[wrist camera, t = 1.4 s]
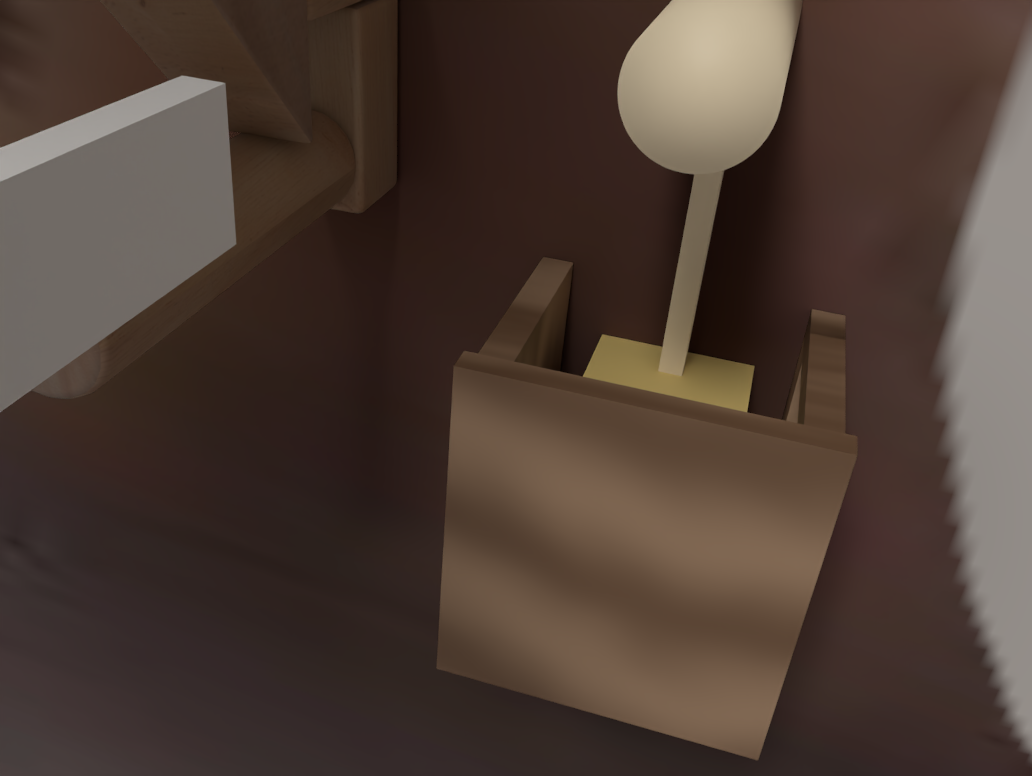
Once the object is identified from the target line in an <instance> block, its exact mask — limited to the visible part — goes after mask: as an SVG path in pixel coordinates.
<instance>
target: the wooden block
mask: <svg viewBox="0 0 1032 776" xmlns="http://www.w3.org/2000/svg"><path fill="white" fill-rule="evenodd" d="M100 1H101V2H102V3H103V5H104V6H105V7H106V8H107V9H108V10H109V12H110V13H111V14H112V15H113V16H114V17H115V18H116V20H117V21H118V22H119V23H120V24H121V25H122V26H123V28H124V29H125V30H126V31H127V32H128V33H129V34H130V36H131V37H132V38H133V39H134V40H135V41H136V42H137V44H138V45H139V46H140V47H141V48H142V49H143V51H144V52H145V53H146V54H147V55H148V56H149V57H150V59H151V60H152V61H153V62H154V63H155V64H156V65H157V67H158V68H159V69H160V70H161V71H162V72H163V73H164V75H165V76H166V77H167V78H168V79H169V80H172V79H175V78H177V77H180V76H188V77H194V78H199V79H205V80H211V81H217V82H222V83H225V85H226V100H227V114H228V129H229V131H234V132H240V134H238V135H237V136H235V137H233V138H231V139H229V144H230V158H231V173H232V188H233V202H234V217H235V232H236V245H234V246H233V247H232V248H230V249H229V250H227V251H226V252H225V253H223V254H222V255H220V256H219V257H218V258H216V259H215V260H213V261H212V262H211V263H209V264H208V265H206V266H205V267H204V268H202V269H201V270H199V271H198V272H197V273H195V274H194V275H192V276H191V277H189V278H188V279H187V280H185V281H184V282H182V283H181V284H180V285H178V286H177V287H175V288H174V289H173V290H171V291H170V292H168V293H167V294H166V295H164V296H163V297H161V298H160V299H159V300H157V301H156V302H154V303H153V304H151V305H150V306H149V307H147V308H146V309H144V310H143V311H142V312H140V313H139V314H137V315H136V316H135V317H133V318H132V319H130V320H129V321H128V322H126V323H125V324H123V325H122V326H121V327H119V328H118V329H116V330H115V331H114V332H112V333H111V334H109V335H108V336H106V337H105V338H104V339H102V340H101V341H99V342H98V343H97V344H95V345H94V346H92V347H91V348H90V349H88V350H87V351H85V352H84V353H83V354H81V355H80V356H78V357H77V358H76V359H74V360H73V361H71V362H70V363H69V364H67V365H66V366H64V367H63V368H61V369H60V370H59V371H57V372H56V373H54V374H53V375H52V376H50V377H49V378H47V379H46V380H45V381H43V382H42V383H40V384H39V385H38V386H36V387H35V388H33V389H32V390H31V391H34V392H36V393H39V394H42V395H44V396H47V397H50V398H62V399H71V398H77V397H81V396H84V395H87V394H91V393H94V392H95V391H96V390H97V389H99V388H100V387H101V386H103V385H104V384H105V383H106V382H108V381H109V380H110V379H112V378H113V377H114V376H115V375H117V374H118V373H119V372H121V371H122V370H123V369H124V368H126V367H127V366H128V365H130V364H131V363H132V362H133V361H135V360H136V359H137V358H139V357H140V356H141V355H142V354H144V353H145V352H146V351H148V350H149V349H150V348H151V347H153V346H154V345H155V344H157V343H158V342H159V341H161V340H162V339H163V338H164V337H166V336H167V335H168V334H170V333H171V332H172V331H173V330H175V329H176V328H177V327H179V326H180V325H181V324H182V323H184V322H185V321H186V320H188V319H189V318H190V317H191V316H193V315H194V314H195V313H197V312H198V311H199V310H200V309H202V308H203V307H204V306H206V305H207V304H208V303H209V302H211V301H212V300H213V299H215V298H216V297H217V296H218V295H220V294H221V293H222V292H224V291H225V290H226V289H228V288H229V287H230V286H231V285H233V284H234V283H235V282H237V281H238V280H239V279H240V278H242V277H243V276H244V275H246V274H247V273H248V272H249V271H251V270H252V269H253V268H255V267H256V266H257V265H258V264H260V263H261V262H262V261H264V260H265V259H266V258H267V257H269V256H270V255H271V254H273V253H274V252H275V251H276V250H278V249H279V248H280V247H282V246H283V245H284V244H285V243H287V242H288V241H289V240H291V239H292V238H293V237H294V236H296V235H297V234H298V233H300V232H301V231H302V230H304V229H305V228H306V227H307V226H309V225H310V224H311V223H313V222H314V221H315V220H316V219H318V218H319V217H320V216H322V215H323V214H324V213H325V212H327V211H328V210H329V209H334V210H340V211H346V212H351V213H362V212H364V211H365V210H367V209H368V208H369V207H370V206H371V205H373V204H374V203H375V202H376V201H377V200H378V199H380V198H381V197H382V196H383V195H384V194H386V193H387V192H388V191H389V190H390V189H392V188H393V187H394V186H395V184H396V182H397V0H100Z"/></svg>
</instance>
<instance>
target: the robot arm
mask: <svg viewBox="0 0 1032 776" xmlns="http://www.w3.org/2000/svg"><path fill="white" fill-rule="evenodd" d="M234 245H236V232H235V217H234V202H233V188H232V173H231V158H230V144H229V129H228V114H227V100H226V85H225V83H222V82H217V81H211V80H205V79H199V78H194V77H188V76H180V77H177V78H175V79H172V80H170V81H167V82H165V83H162V84H160V85H157V86H154V87H152V88H149V89H147V90H144V91H142V92H139V93H137V94H134V95H132V96H129V97H127V98H124V99H122V100H119V101H117V102H114V103H112V104H109V105H107V106H104V107H102V108H99V109H97V110H94V111H92V112H89V113H87V114H84V115H82V116H79V117H77V118H74V119H72V120H69V121H67V122H64V123H62V124H59V125H57V126H54V127H52V128H49V129H47V130H44V131H42V132H39V133H37V134H34V135H32V136H29V137H27V138H24V139H21V140H19V141H16V142H14V143H11V144H9V145H6V146H4V147H1V148H0V412H1V411H2V410H4V409H5V408H7V407H8V406H9V405H11V404H12V403H14V402H15V401H16V400H18V399H19V398H21V397H22V396H23V395H25V394H26V393H28V392H29V391H31V390H32V389H33V388H35V387H36V386H38V385H39V384H40V383H42V382H43V381H45V380H46V379H47V378H49V377H50V376H52V375H53V374H54V373H56V372H57V371H59V370H60V369H61V368H63V367H64V366H66V365H67V364H69V363H70V362H71V361H73V360H74V359H76V358H77V357H78V356H80V355H81V354H83V353H84V352H85V351H87V350H88V349H90V348H91V347H92V346H94V345H95V344H97V343H98V342H99V341H101V340H102V339H104V338H105V337H106V336H108V335H109V334H111V333H112V332H114V331H115V330H116V329H118V328H119V327H121V326H122V325H123V324H125V323H126V322H128V321H129V320H130V319H132V318H133V317H135V316H136V315H137V314H139V313H140V312H142V311H143V310H144V309H146V308H147V307H149V306H150V305H151V304H153V303H154V302H156V301H157V300H159V299H160V298H161V297H163V296H164V295H166V294H167V293H168V292H170V291H171V290H173V289H174V288H175V287H177V286H178V285H180V284H181V283H182V282H184V281H185V280H187V279H188V278H189V277H191V276H192V275H194V274H195V273H197V272H198V271H199V270H201V269H202V268H204V267H205V266H206V265H208V264H209V263H211V262H212V261H213V260H215V259H216V258H218V257H219V256H220V255H222V254H223V253H225V252H226V251H227V250H229V249H230V248H232V247H233V246H234Z"/></svg>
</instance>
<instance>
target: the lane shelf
mask: <svg viewBox="0 0 1032 776" xmlns="http://www.w3.org/2000/svg"><path fill="white" fill-rule="evenodd" d="M572 271H573V262H568V261H562V260H557V259H552V258H547V257H543V258H542V260H541V261H540V262H539V264H538V265H537V267H536V268H535V270H534V271H533V273H532V274H531V276H530V277H529V279H528V280H527V282H526V283H525V285H524V286H523V288H522V289H521V291H520V292H519V294H518V295H517V297H516V298H515V300H514V301H513V303H512V304H511V305H510V307H509V308H508V310H507V311H506V313H505V314H504V316H503V317H502V319H501V320H500V322H499V323H498V325H497V326H496V328H495V329H494V331H493V332H492V334H491V335H490V337H489V338H488V340H487V341H486V343H485V344H484V346H483V347H482V348H481V350H480V351H479V353H478V354H477V353H473V352H468V351H464V352H463V353H462V355H461V356H460V358H459V359H458V361H457V362H456V363H455V365H454V370H453V387H452V405H451V423H450V440H449V458H448V475H447V493H446V510H445V528H444V545H443V563H442V581H441V598H440V616H439V633H438V651H437V668H436V669H440V670H443V671H447V672H450V673H454V674H457V675H461V676H464V677H468V678H471V679H475V680H478V681H482V682H485V683H489V684H492V685H496V686H499V687H503V688H506V689H510V690H513V691H517V692H520V693H524V694H527V695H531V696H534V697H538V698H541V699H545V700H548V701H552V702H555V703H559V704H562V705H566V706H569V707H573V708H576V709H580V710H583V711H587V712H590V713H594V714H597V715H601V716H604V717H608V718H611V719H615V720H618V721H622V722H625V723H629V724H632V725H636V726H639V727H643V728H646V729H650V730H653V731H657V732H660V733H664V734H667V735H671V736H674V737H678V738H681V739H685V740H688V741H692V742H695V743H699V744H702V745H706V746H709V747H713V748H716V749H720V750H723V751H727V752H730V753H734V754H737V755H741V756H744V757H748V758H751V759H755V760H758V759H759V756H760V753H761V750H762V747H763V744H764V741H765V737H766V734H767V731H768V728H769V725H770V722H771V719H772V716H773V713H774V710H775V707H776V704H777V701H778V698H779V695H780V691H781V688H782V685H783V682H784V679H785V676H786V673H787V670H788V667H789V664H790V661H791V658H792V655H793V652H794V649H795V645H796V642H797V639H798V636H799V633H800V630H801V627H802V624H803V621H804V618H805V615H806V612H807V609H808V606H809V603H810V599H811V596H812V593H813V590H814V587H815V584H816V581H817V578H818V575H819V572H820V569H821V566H822V563H823V560H824V557H825V553H826V550H827V547H828V544H829V541H830V538H831V535H832V532H833V529H834V526H835V523H836V520H837V517H838V514H839V511H840V508H841V504H842V501H843V498H844V495H845V492H846V489H847V486H848V483H849V480H850V477H851V474H852V471H853V468H854V465H855V462H856V458H857V436H854V435H849V434H845V315H839V314H834V313H829V312H824V311H819V310H814V309H812V310H811V314H810V318H809V321H808V325H807V329H806V333H805V336H804V340H803V344H802V347H801V351H800V355H799V358H798V362H797V366H796V370H795V373H794V377H793V381H792V384H791V388H790V392H789V396H788V399H787V403H786V407H785V410H784V414H783V418H782V420H780V419H776V418H771V417H766V416H762V415H757V414H753V413H748V412H743V411H739V410H734V409H730V408H725V407H720V406H716V405H711V404H707V403H702V402H698V401H693V400H688V399H684V398H679V397H675V396H670V395H665V394H661V393H656V392H652V391H647V390H642V389H638V388H633V387H629V386H624V385H619V384H615V383H610V382H606V381H601V380H596V379H592V378H587V377H583V376H578V375H574V374H569V373H564V372H560V368H561V360H562V352H563V343H564V335H565V327H566V319H567V311H568V303H569V295H570V287H571V279H572Z"/></svg>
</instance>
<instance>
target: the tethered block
mask: <svg viewBox="0 0 1032 776" xmlns="http://www.w3.org/2000/svg"><path fill="white" fill-rule="evenodd" d="M801 10H802V0H672V1H671V2H670V3H669V4H668V5H667V7H666V8H665V9H664V10H663V11H662V12H661V13H660V14H659V15H658V17H657V18H656V19H655V20H654V21H653V22H652V23H651V24H650V25H649V27H648V28H647V29H646V30H645V31H644V32H643V33H642V34H641V36H640V37H639V38H638V39H637V40H636V41H635V43H634V44H633V46H632V47H631V49H630V50H629V52H628V54H627V56H626V58H625V60H624V62H623V65H622V68H621V71H620V76H619V81H618V92H617V93H618V106H619V111H620V115H621V118H622V122H623V124H624V127H625V129H626V131H627V133H628V135H629V136H630V138H631V139H632V141H633V142H634V143H635V145H636V146H637V147H638V148H639V149H640V150H641V151H642V152H643V153H644V154H645V155H646V156H647V157H649V158H650V159H651V160H653V161H654V162H656V163H657V164H659V165H661V166H663V167H665V168H668V169H670V170H673V171H677V172H681V173H686V174H694V179H693V185H692V190H691V195H690V201H689V206H688V212H687V217H686V223H685V228H684V233H683V239H682V244H681V250H680V255H679V260H678V266H677V271H676V277H675V282H674V288H673V293H672V298H671V304H670V309H669V315H668V320H667V325H666V331H665V336H664V342H663V347H661V346H656V345H651V344H647V343H642V342H637V341H632V340H627V339H623V338H618V337H613V336H608V335H603V334H602V336H601V338H600V340H599V343H598V345H597V347H596V349H595V351H594V353H593V356H592V358H591V360H590V362H589V364H588V366H587V369H586V371H585V373H584V375H583V377H587V378H592V379H596V380H601V381H606V382H610V383H615V384H619V385H624V386H629V387H633V388H638V389H642V390H647V391H652V392H656V393H661V394H665V395H670V396H675V397H679V398H684V399H688V400H693V401H698V402H702V403H707V404H711V405H716V406H720V407H725V408H730V409H734V410H739V411H743V412H747V410H748V404H749V398H750V391H751V385H752V379H753V373H754V367H755V366H752V365H747V364H743V363H738V362H733V361H728V360H723V359H719V358H714V357H709V356H704V355H699V354H695V353H690V352H688V348H689V343H690V338H691V333H692V328H693V323H694V318H695V313H696V308H697V303H698V298H699V293H700V288H701V283H702V278H703V273H704V268H705V263H706V258H707V253H708V248H709V244H710V239H711V234H712V229H713V224H714V219H715V214H716V209H717V204H718V199H719V194H720V189H721V184H722V179H723V174H724V170H726V169H728V168H731V167H733V166H735V165H737V164H739V163H741V162H742V161H744V160H745V159H747V158H748V157H749V156H751V155H752V154H753V153H754V152H755V151H756V150H757V149H758V148H759V147H760V146H761V145H762V144H763V143H764V141H765V140H766V139H767V137H768V136H769V134H770V132H771V131H772V129H773V127H774V125H775V123H776V120H777V118H778V115H779V111H780V108H781V103H782V98H783V94H784V89H785V85H786V80H787V75H788V71H789V66H790V61H791V57H792V52H793V48H794V43H795V38H796V34H797V29H798V24H799V20H800V15H801Z"/></svg>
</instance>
